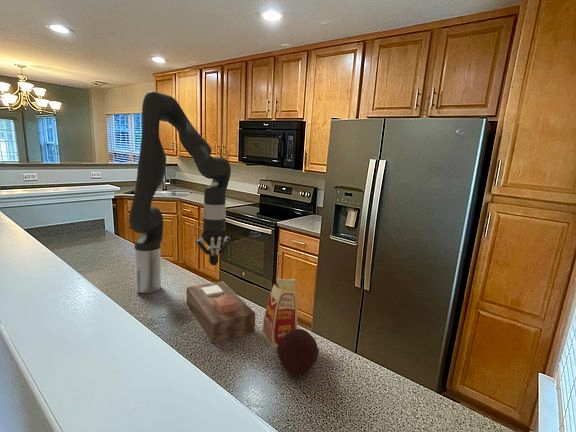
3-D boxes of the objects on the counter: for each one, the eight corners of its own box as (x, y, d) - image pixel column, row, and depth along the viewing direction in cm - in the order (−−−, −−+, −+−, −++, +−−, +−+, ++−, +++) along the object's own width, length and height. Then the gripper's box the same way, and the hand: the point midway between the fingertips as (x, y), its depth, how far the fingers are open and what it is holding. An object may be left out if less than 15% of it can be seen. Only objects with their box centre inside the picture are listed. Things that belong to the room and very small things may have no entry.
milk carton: (273, 348, 93) (277, 285, 89) (261, 332, 101) (264, 273, 97) (299, 341, 97) (304, 281, 94) (286, 326, 105) (290, 270, 102)
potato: (314, 354, 91) (317, 321, 89) (319, 387, 78) (323, 350, 76) (276, 352, 91) (278, 320, 89) (275, 385, 78) (277, 348, 76)
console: (212, 343, 93) (212, 323, 92) (186, 303, 116) (186, 287, 115) (254, 331, 101) (255, 313, 100) (222, 296, 124) (222, 281, 123)
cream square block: (206, 305, 109) (206, 294, 108) (201, 297, 114) (201, 287, 113) (222, 301, 112) (223, 291, 112) (217, 294, 117) (217, 284, 116)
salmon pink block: (220, 318, 98) (220, 306, 97) (213, 309, 103) (213, 298, 102) (237, 313, 101) (238, 302, 101) (230, 306, 106) (231, 295, 106)
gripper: (228, 213, 114) (227, 259, 117) (191, 215, 106) (191, 263, 110) (236, 217, 108) (235, 265, 111) (198, 219, 100) (198, 271, 104)
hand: (213, 264), depth 110 cm, fingers closed
